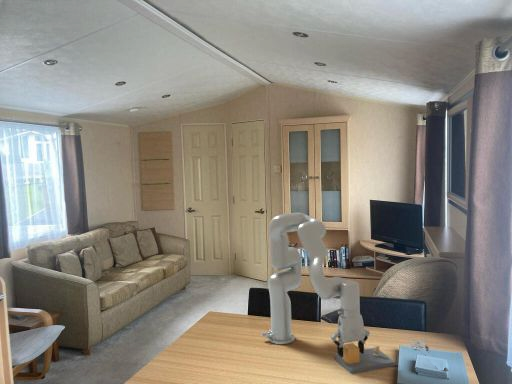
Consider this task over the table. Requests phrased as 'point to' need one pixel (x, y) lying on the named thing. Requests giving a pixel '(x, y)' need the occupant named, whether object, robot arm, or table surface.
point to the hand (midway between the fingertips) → (350, 353)
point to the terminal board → (367, 361)
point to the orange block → (350, 353)
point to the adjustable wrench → (420, 345)
